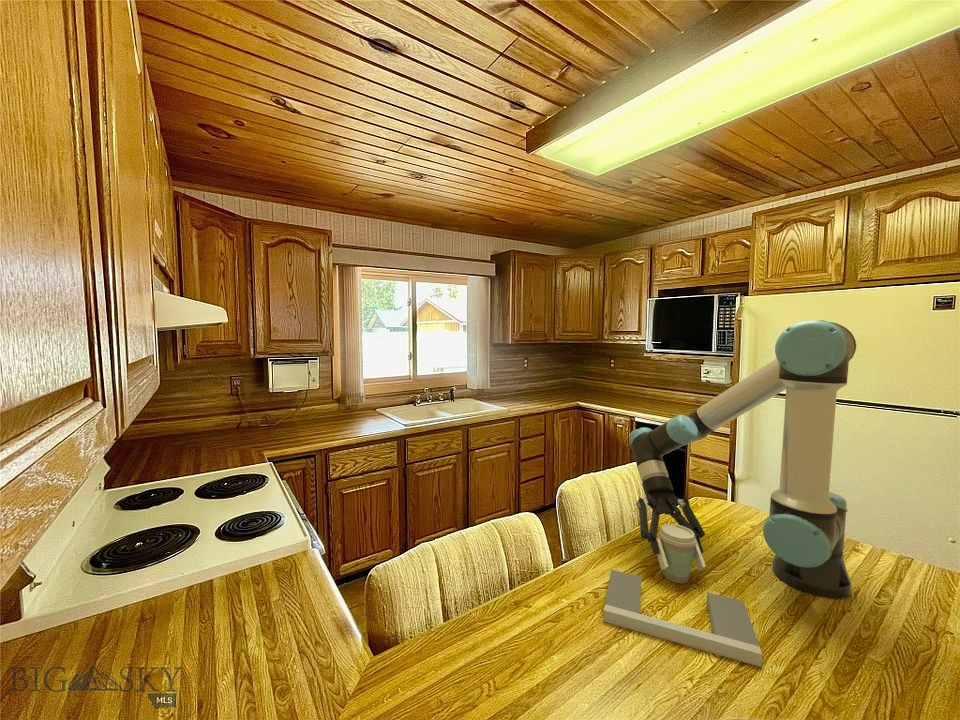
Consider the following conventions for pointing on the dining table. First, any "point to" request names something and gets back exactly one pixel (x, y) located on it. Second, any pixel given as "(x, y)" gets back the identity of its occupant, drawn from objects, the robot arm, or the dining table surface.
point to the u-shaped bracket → (726, 619)
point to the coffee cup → (677, 551)
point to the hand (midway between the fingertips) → (683, 568)
